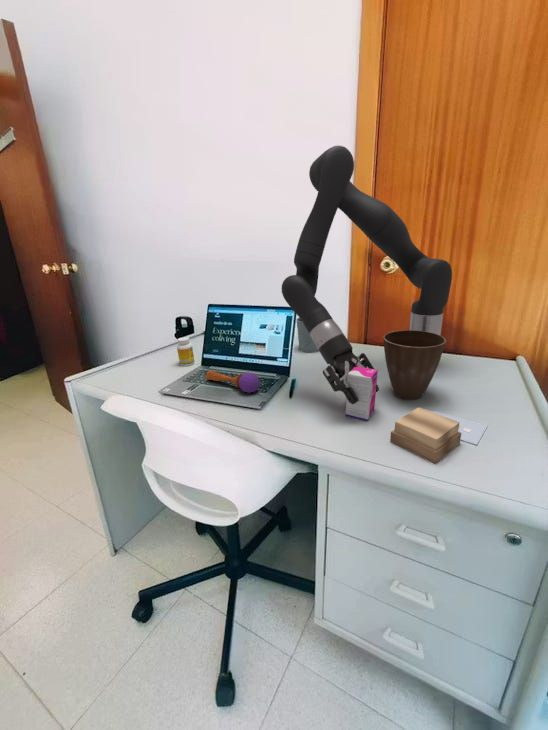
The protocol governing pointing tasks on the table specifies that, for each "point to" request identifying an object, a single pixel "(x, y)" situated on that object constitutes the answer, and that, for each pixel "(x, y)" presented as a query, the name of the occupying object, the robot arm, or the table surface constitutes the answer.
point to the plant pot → (412, 360)
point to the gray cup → (305, 338)
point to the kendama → (237, 380)
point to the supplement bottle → (185, 352)
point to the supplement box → (362, 392)
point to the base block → (426, 434)
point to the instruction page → (467, 429)
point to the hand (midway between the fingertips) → (366, 397)
